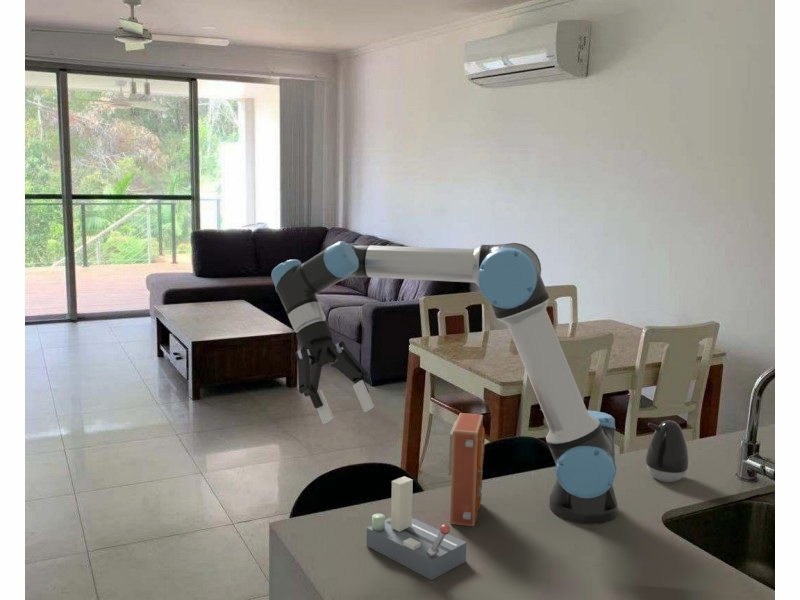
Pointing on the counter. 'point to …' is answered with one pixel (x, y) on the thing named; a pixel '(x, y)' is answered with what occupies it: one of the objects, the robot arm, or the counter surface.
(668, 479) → the pump dispenser
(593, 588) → the counter surface
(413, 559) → the switch console
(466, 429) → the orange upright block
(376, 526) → the push button
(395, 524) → the cream rectangular block
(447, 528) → the toggle lever
